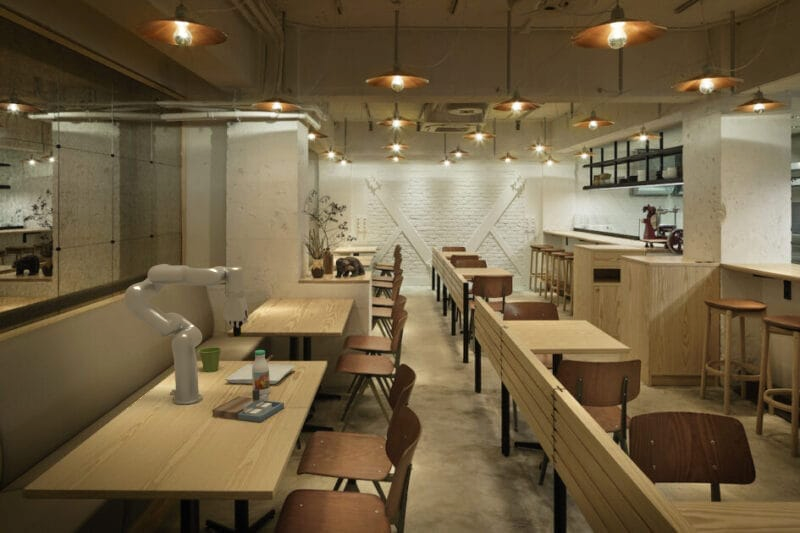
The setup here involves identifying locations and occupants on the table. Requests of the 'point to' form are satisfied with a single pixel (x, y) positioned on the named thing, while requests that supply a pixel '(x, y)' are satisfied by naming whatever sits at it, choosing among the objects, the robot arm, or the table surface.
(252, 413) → the white tile
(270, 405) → the white tile
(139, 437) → the table surface
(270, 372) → the square plate
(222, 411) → the walnut board
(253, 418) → the box
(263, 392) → the milk bottle
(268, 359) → the kitchen cleaver
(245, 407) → the bar
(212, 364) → the plant pot
